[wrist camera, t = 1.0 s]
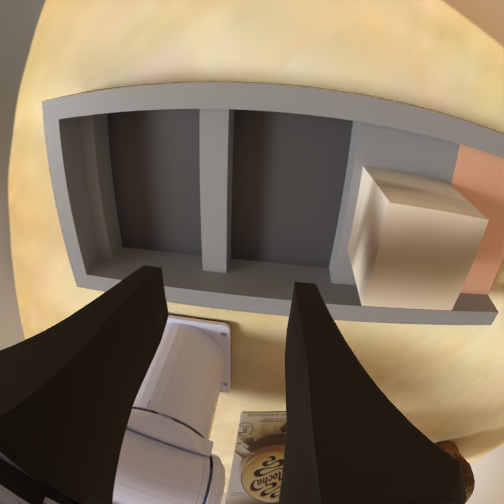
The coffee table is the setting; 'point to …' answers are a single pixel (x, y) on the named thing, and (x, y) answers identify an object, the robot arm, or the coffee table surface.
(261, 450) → the coffee box
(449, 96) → the coffee table surface
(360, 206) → the cream block
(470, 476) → the dark brown rounded lump
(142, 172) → the tray
